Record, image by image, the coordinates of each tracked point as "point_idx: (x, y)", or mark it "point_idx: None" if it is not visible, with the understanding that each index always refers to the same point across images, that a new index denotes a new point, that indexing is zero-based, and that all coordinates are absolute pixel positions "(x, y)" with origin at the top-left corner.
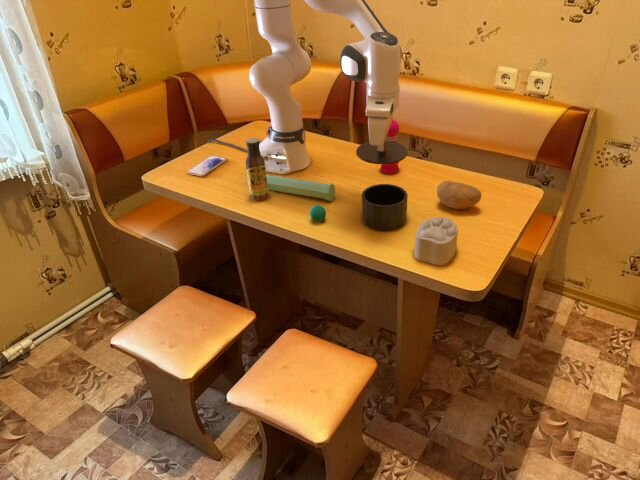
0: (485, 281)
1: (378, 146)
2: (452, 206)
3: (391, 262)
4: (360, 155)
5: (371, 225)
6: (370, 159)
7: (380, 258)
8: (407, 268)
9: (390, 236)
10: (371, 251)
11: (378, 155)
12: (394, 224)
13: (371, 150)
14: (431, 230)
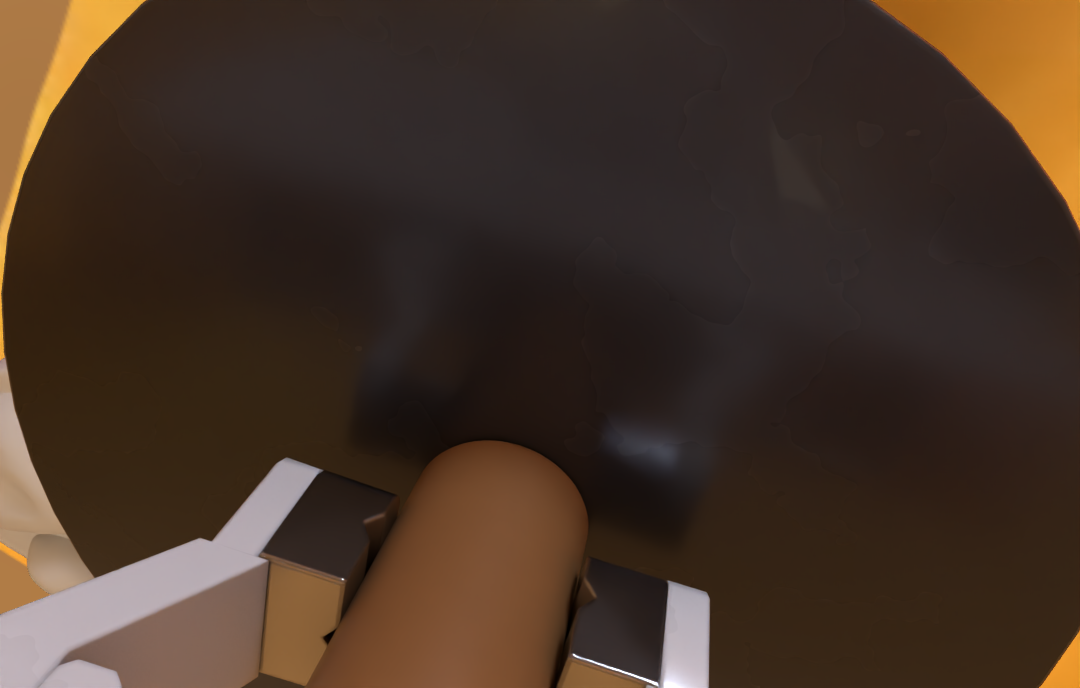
0: (2, 548)
1: (224, 542)
2: None
3: (36, 141)
4: (241, 9)
5: None
6: (85, 234)
7: (60, 72)
8: (3, 229)
9: None
10: (124, 12)
11: (284, 415)
12: None
13: (529, 317)
14: (2, 475)
